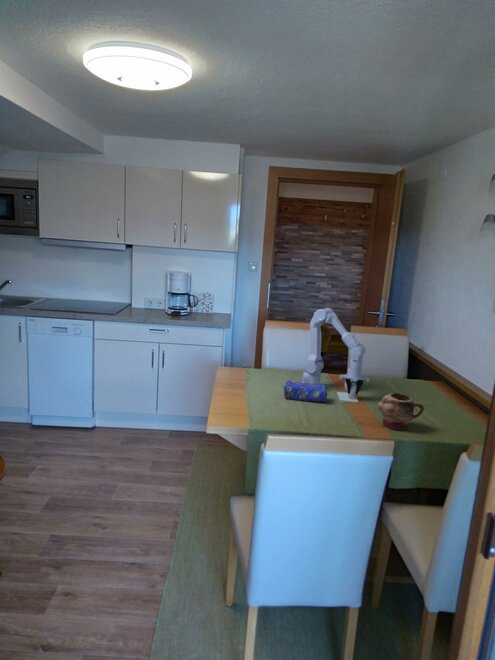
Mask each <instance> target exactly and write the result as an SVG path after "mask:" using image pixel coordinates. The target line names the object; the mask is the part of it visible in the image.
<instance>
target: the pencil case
mask: <svg viewBox="0 0 495 660" xmlns="http://www.w3.org/2000/svg"><path fill="white" fill-rule="evenodd" d="M282 390H283V394H284V395H283V396H284V399H288V398H290V399H289V400H297V401H303V400H304V401H305V402H320V403H326V401H327V398H328V391H327V385H326V384H325V383H321V382H320V384H307V383H302V382H298V381H294V380H292V379H289V380H287V381H286V383H285V385H283V387H282Z"/></svg>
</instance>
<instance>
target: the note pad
mask: <svg viewBox="0 0 495 660" xmlns="http://www.w3.org/2000/svg"><path fill="white" fill-rule="evenodd" d="M336 395H337V397H338V399H339V401H340V402H345V403H346V402H347V403H357V404H358V403H359V400H358V397H357V396H356V397H355V399H350V398H349V394H348V391H347V392H346V391H338V390H337V391H336Z"/></svg>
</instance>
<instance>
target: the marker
mask: <svg viewBox="0 0 495 660" xmlns="http://www.w3.org/2000/svg"><path fill="white" fill-rule="evenodd" d="M356 390H357V382H356V381H351V386H350V394H349V398H350V399H355V397H356V398H357V395H356Z"/></svg>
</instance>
